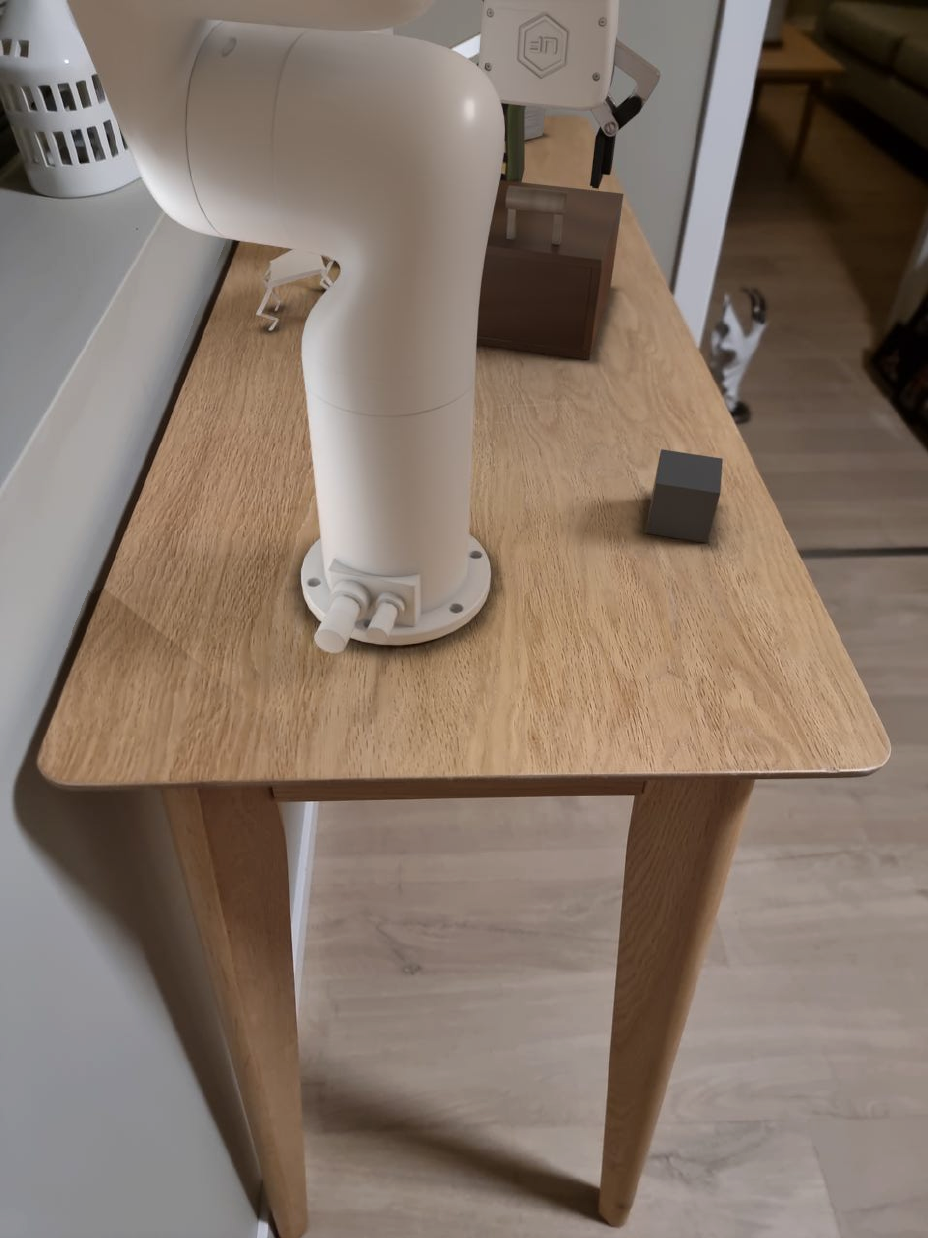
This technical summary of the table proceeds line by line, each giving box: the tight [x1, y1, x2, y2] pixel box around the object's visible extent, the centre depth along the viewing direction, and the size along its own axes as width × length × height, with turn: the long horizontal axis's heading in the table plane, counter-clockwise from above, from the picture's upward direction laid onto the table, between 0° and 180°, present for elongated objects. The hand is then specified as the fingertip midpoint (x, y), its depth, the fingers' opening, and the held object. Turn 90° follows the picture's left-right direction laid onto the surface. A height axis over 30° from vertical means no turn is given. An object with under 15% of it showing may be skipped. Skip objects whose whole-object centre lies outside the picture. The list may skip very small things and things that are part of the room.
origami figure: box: [255, 249, 335, 331], centre depth 89 cm, size 12×8×5 cm
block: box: [645, 448, 724, 544], centre depth 66 cm, size 4×4×4 cm
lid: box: [485, 180, 625, 269], centre depth 83 cm, size 16×13×5 cm
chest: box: [476, 204, 623, 361], centre depth 88 cm, size 16×13×9 cm
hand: (539, 176), depth 77 cm, fingers open, 9 cm apart
